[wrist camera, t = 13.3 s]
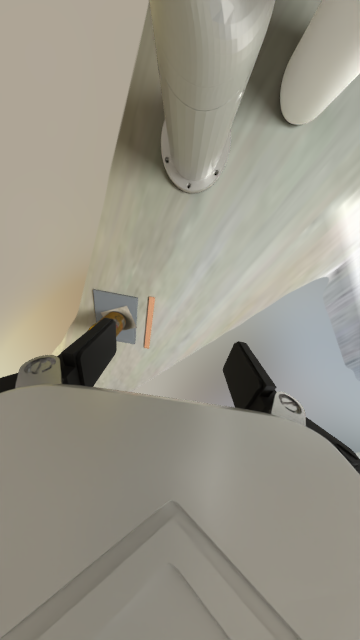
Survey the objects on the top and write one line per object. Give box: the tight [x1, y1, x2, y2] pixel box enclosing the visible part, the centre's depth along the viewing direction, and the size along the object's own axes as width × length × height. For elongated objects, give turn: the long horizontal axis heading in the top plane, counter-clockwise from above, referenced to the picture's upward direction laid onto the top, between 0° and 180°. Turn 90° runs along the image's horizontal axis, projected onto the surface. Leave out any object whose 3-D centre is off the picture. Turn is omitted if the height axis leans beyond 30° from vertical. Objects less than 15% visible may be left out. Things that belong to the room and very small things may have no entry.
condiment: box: [89, 306, 137, 337], centre depth 36 cm, size 7×8×12 cm
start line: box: [144, 297, 155, 349], centre depth 42 cm, size 18×2×1 cm, turn 169°
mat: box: [93, 289, 138, 344], centre depth 41 cm, size 16×12×1 cm
